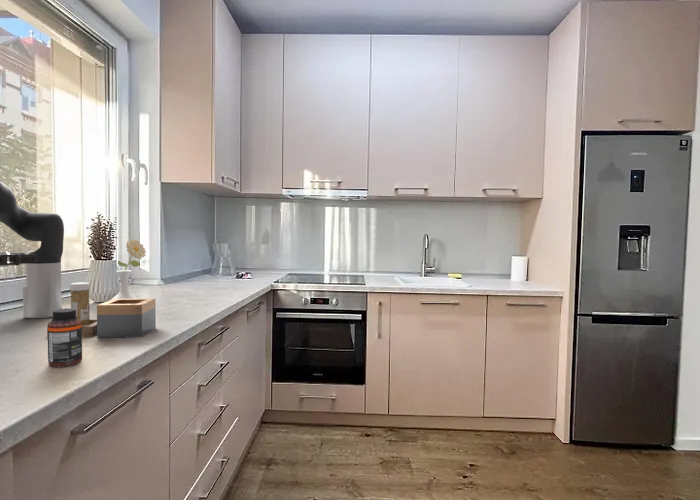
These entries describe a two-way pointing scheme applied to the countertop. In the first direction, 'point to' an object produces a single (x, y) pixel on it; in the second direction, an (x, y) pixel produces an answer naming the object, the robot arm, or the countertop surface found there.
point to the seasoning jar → (81, 301)
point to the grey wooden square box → (126, 318)
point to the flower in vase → (137, 252)
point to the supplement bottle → (64, 338)
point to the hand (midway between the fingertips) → (31, 257)
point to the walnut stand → (89, 328)
